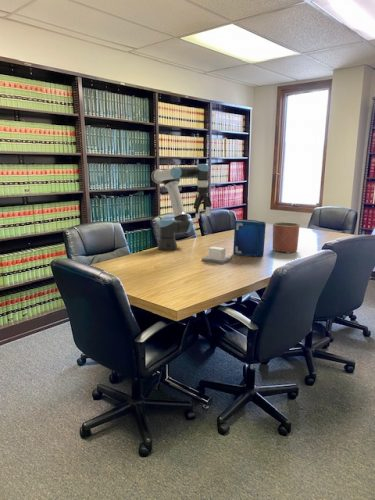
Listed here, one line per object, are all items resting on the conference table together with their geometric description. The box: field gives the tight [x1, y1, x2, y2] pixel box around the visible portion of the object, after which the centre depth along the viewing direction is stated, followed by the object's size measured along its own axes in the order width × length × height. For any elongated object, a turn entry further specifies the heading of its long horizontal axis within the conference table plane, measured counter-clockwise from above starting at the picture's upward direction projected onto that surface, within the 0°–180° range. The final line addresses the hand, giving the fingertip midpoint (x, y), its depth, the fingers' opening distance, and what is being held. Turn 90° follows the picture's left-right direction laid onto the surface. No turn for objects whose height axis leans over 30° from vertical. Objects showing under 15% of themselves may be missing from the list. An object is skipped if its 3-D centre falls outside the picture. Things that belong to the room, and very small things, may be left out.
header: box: [201, 255, 232, 265], centre depth 247 cm, size 16×12×5 cm
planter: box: [272, 221, 300, 254], centre depth 273 cm, size 19×19×20 cm
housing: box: [208, 246, 226, 260], centre depth 246 cm, size 10×6×7 cm, turn 56°
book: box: [232, 219, 267, 258], centre depth 258 cm, size 22×7×25 cm, turn 71°
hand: (202, 217), depth 260 cm, fingers open, 13 cm apart
